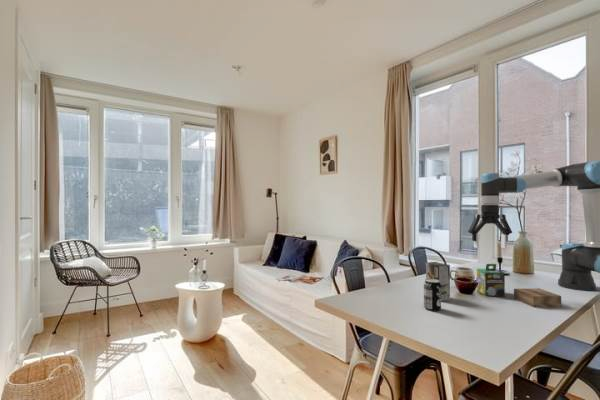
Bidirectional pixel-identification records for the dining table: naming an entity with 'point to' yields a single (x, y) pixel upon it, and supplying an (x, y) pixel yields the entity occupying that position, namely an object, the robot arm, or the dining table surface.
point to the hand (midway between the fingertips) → (489, 247)
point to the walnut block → (537, 297)
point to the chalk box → (491, 281)
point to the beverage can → (432, 294)
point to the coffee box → (440, 277)
